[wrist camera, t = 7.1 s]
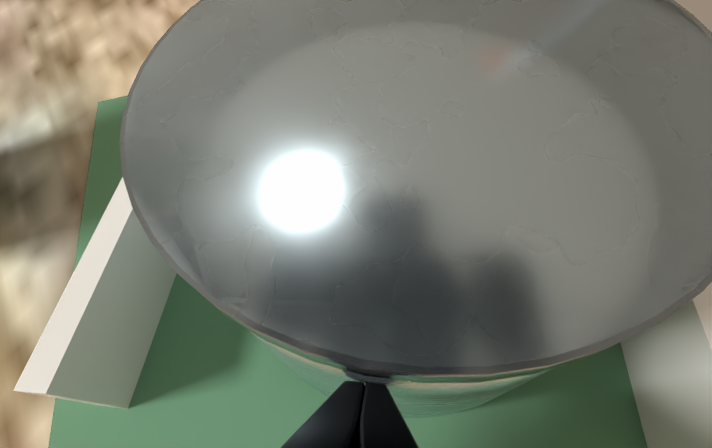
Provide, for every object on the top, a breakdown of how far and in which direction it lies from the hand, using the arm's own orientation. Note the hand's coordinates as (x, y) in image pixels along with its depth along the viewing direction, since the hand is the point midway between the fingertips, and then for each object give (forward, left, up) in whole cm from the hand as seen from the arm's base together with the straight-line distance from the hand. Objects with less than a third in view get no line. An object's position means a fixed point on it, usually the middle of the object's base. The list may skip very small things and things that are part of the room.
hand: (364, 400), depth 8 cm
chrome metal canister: (+7, -3, -6) cm, 10 cm away
